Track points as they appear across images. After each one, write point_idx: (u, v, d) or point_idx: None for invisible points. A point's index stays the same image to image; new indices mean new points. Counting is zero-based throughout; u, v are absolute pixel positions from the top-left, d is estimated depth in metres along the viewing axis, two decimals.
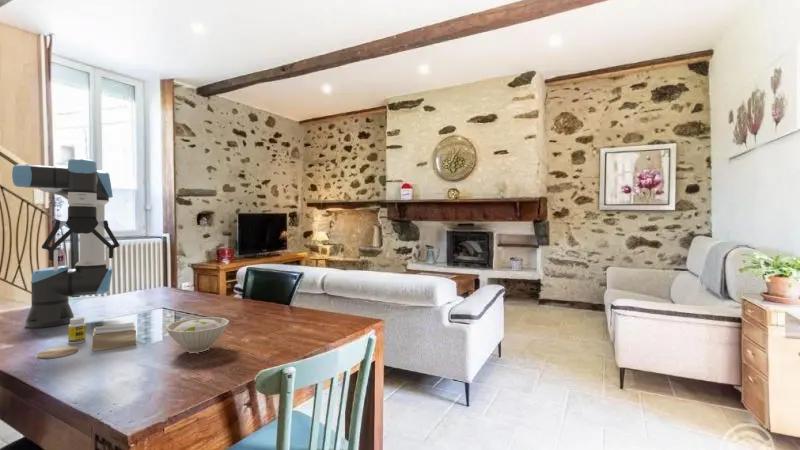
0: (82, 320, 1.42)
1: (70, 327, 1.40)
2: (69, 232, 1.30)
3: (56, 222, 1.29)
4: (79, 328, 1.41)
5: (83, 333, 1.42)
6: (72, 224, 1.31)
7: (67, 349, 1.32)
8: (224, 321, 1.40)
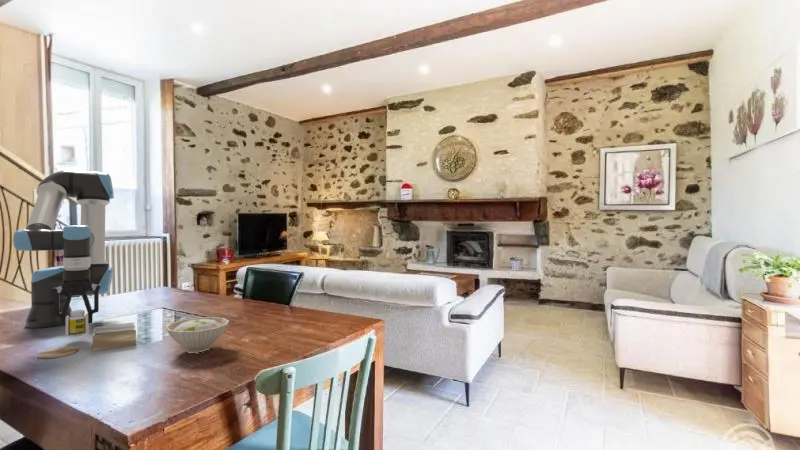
0: (82, 313, 1.43)
1: (70, 320, 1.41)
2: (69, 296, 1.40)
3: (53, 291, 1.38)
4: (79, 321, 1.41)
5: (83, 326, 1.43)
6: (68, 286, 1.40)
7: (67, 349, 1.32)
8: (224, 321, 1.40)
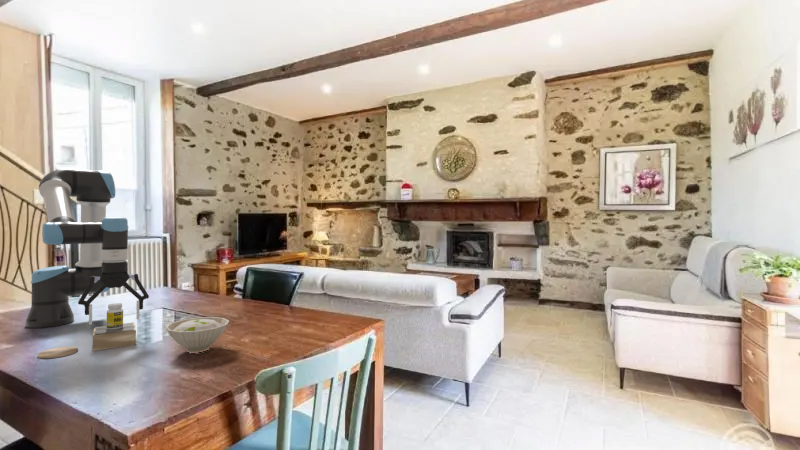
0: (120, 306, 1.41)
1: (108, 313, 1.39)
2: (103, 287, 1.38)
3: (91, 278, 1.36)
4: (117, 314, 1.40)
5: (121, 319, 1.41)
6: (106, 279, 1.39)
7: (67, 349, 1.32)
8: (224, 321, 1.40)
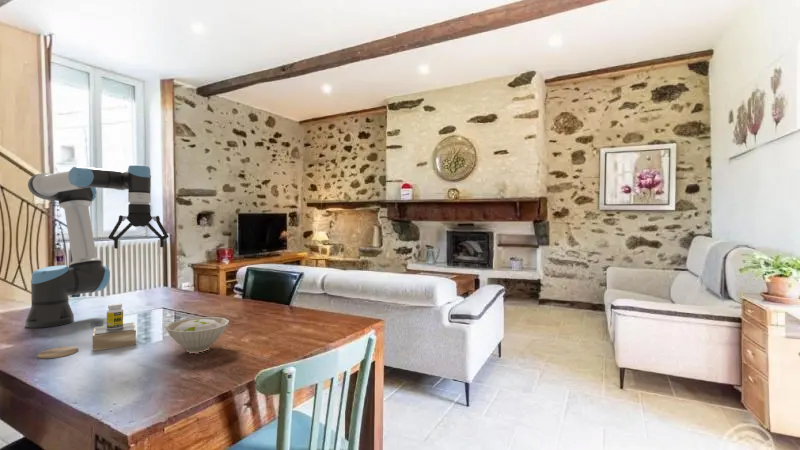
0: (120, 306, 1.41)
1: (109, 313, 1.39)
2: (129, 225, 1.58)
3: (119, 217, 1.57)
4: (117, 314, 1.40)
5: (121, 319, 1.41)
6: (132, 219, 1.59)
7: (67, 349, 1.32)
8: (224, 321, 1.40)
